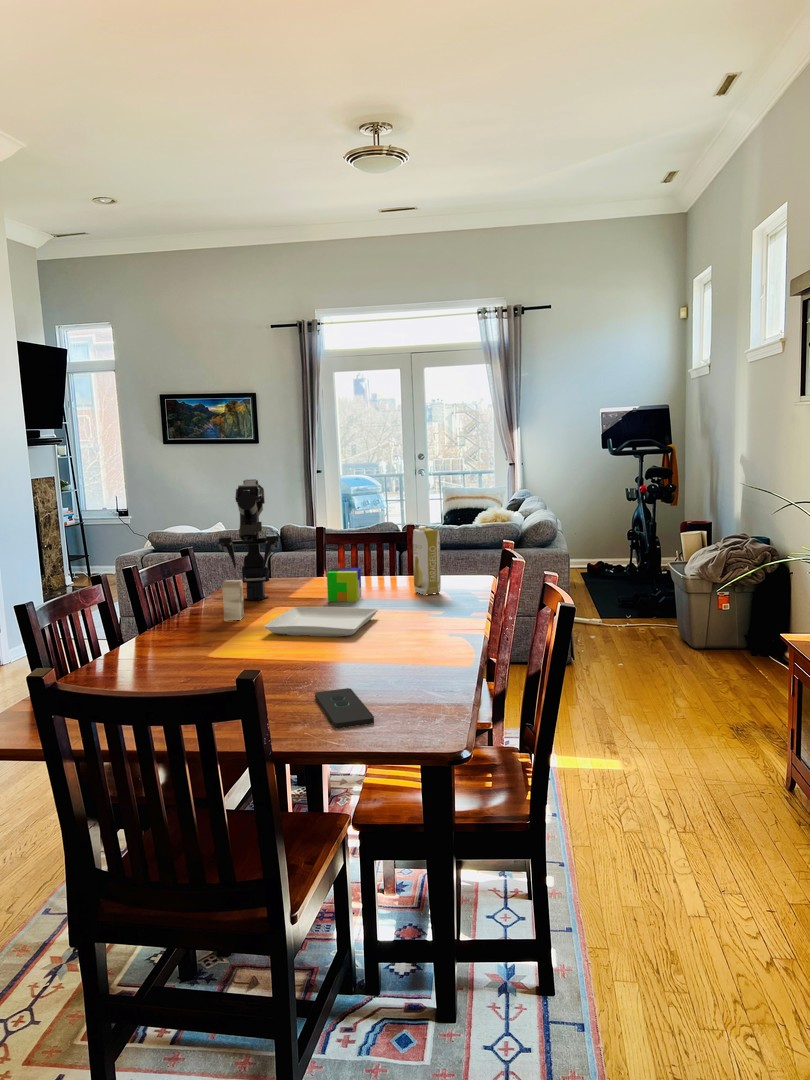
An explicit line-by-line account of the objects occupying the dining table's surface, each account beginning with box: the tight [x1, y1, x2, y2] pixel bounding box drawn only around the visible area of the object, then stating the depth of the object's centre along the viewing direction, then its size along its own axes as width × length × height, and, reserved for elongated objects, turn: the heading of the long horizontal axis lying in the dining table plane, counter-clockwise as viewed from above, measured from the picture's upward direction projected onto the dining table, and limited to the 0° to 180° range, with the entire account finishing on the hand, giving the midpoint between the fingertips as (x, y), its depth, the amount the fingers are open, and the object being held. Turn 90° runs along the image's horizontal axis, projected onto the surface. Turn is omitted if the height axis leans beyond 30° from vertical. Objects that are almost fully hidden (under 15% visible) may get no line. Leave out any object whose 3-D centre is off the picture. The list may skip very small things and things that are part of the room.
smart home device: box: [314, 687, 375, 729], centre depth 161 cm, size 8×2×20 cm
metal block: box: [221, 579, 245, 622], centre depth 245 cm, size 5×5×12 cm
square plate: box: [263, 606, 379, 637], centre depth 232 cm, size 27×27×4 cm
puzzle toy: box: [326, 567, 362, 602], centre depth 273 cm, size 10×10×10 cm
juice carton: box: [412, 525, 442, 596], centre depth 277 cm, size 9×8×24 cm
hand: (249, 567), depth 248 cm, fingers open, 9 cm apart
